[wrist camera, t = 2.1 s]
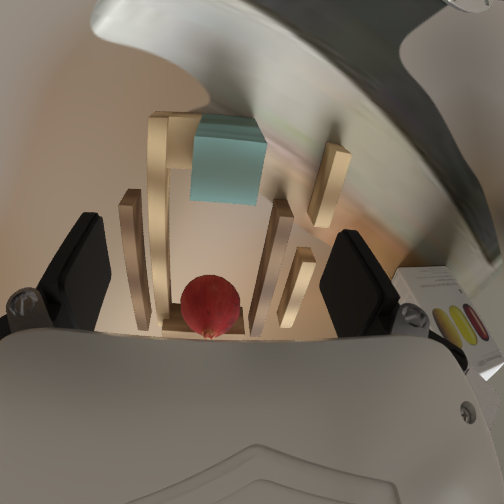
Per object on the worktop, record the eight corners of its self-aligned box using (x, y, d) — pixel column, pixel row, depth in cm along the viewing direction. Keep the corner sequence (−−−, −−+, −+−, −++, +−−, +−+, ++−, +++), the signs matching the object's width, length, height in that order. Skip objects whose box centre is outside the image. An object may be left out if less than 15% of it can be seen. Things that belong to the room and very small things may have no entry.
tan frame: (155, 111, 20) (129, 134, 14) (278, 122, 21) (299, 148, 16) (160, 310, 33) (153, 360, 27) (240, 314, 34) (245, 364, 29)
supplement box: (447, 264, 34) (509, 360, 20) (421, 309, 39) (466, 399, 26) (395, 266, 33) (459, 383, 19) (371, 315, 38) (413, 421, 25)
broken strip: (326, 142, 23) (336, 150, 21) (341, 145, 23) (352, 154, 21) (276, 312, 35) (279, 327, 33) (287, 312, 35) (291, 327, 33)
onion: (247, 268, 30) (255, 330, 24) (224, 303, 33) (226, 362, 27) (195, 250, 28) (189, 313, 22) (176, 288, 31) (169, 349, 25)
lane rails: (128, 188, 23) (118, 205, 21) (287, 200, 26) (294, 217, 23) (142, 310, 33) (138, 329, 31) (257, 317, 35) (260, 336, 33)
